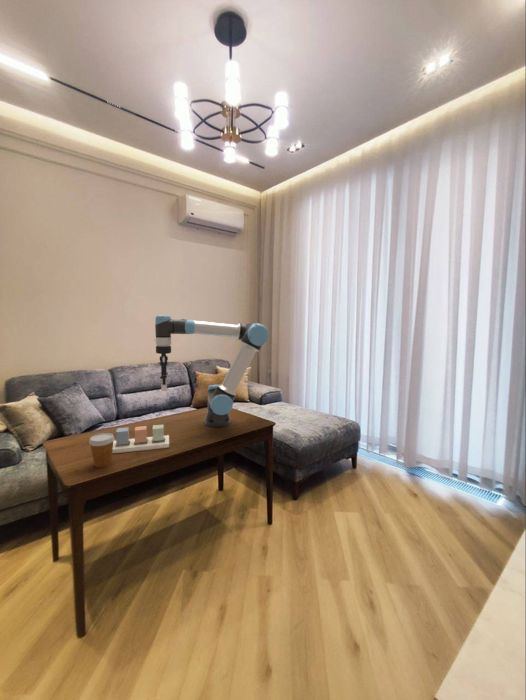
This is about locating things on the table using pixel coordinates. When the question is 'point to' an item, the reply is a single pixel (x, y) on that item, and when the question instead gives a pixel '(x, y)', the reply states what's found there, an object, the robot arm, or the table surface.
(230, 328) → the robot arm
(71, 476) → the table surface
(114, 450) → the board
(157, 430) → the sage block
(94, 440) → the disposable coffee cup
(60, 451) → the table surface
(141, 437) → the terracotta block
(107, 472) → the table surface
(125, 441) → the slate block
